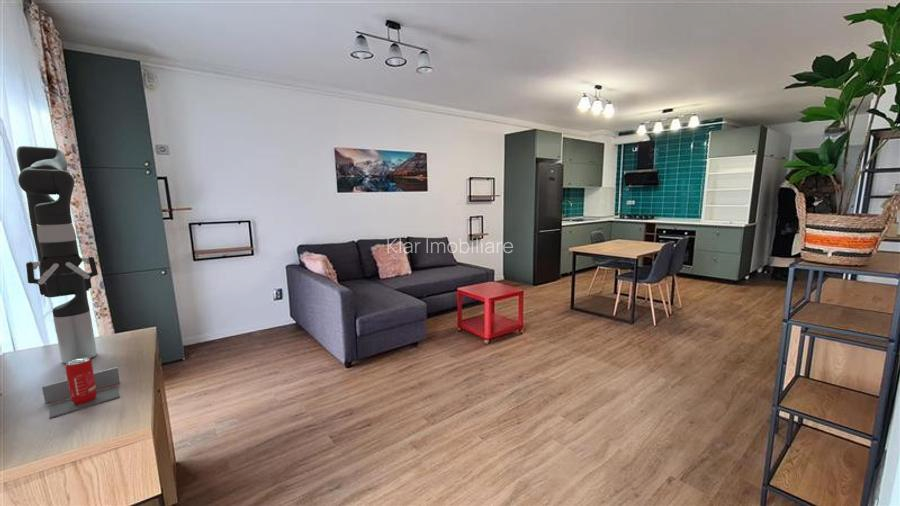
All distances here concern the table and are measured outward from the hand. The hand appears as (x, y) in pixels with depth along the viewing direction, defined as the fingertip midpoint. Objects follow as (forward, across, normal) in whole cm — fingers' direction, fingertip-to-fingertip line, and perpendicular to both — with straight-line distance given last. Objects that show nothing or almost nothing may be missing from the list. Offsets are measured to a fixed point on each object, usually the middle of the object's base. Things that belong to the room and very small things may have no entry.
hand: (67, 293), depth 109 cm
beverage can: (+29, 0, +13) cm, 32 cm away
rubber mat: (+30, 0, +13) cm, 32 cm away
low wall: (+30, 0, +5) cm, 30 cm away
